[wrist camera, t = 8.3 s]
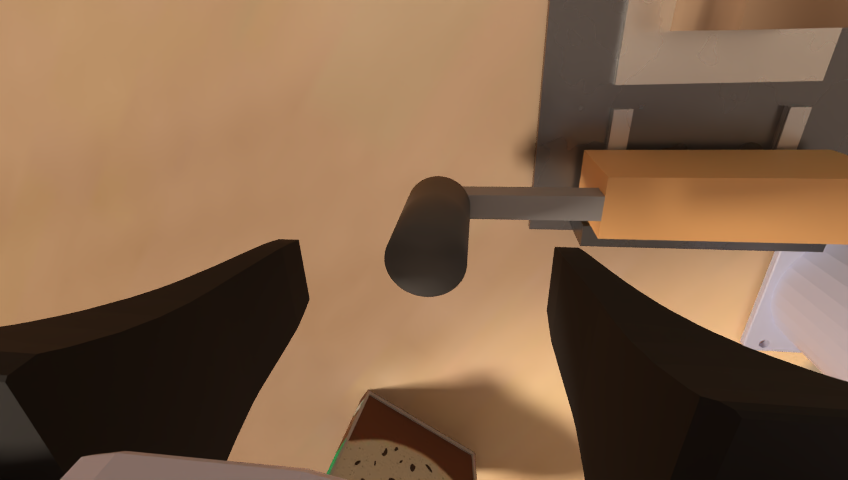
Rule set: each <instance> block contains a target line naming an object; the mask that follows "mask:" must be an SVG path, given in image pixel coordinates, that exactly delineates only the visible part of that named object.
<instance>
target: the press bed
mask: <svg viewBox="0 0 848 480" xmlns="http://www.w3.org/2000/svg"><path fill="white" fill-rule="evenodd" d="M676 1H677V0H548V12H547V23H546V35H545V46H544V57H543V69H542V80H541V92H540V103H539V114H538V126H537V137H536V149H535V160H534V171H533V183H532V187H565V188H579V183H580V176H581V169H582V162H583V155H584V150H834V151H837V152H840V153H843V154H846V155H848V28H806V29H763V30H709V31H670V28H671V24H672V19H673V14H674V10H675V5H676ZM529 229H556V230H573V232H574V234H575V236H576V238H577V240H578V242H579V244H580V246H602V247H640V248H679V249H717V250H756V251H794V252H823V251H824V249H825V246H826V244H801V243H759V242H717V241H674V240H632V239H598V238H597V236H596V234H595V233H594V231H593V229H592V227H591V226H590V224H589V222H588V221H565V220H529Z"/></svg>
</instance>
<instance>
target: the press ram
mask: <svg viewBox="0 0 848 480" xmlns="http://www.w3.org/2000/svg"><path fill="white" fill-rule="evenodd" d="M470 219H511V220H565V221H588V222H589V224H590V226H591V227H592V229H593V231H594V233H595V234H596V236H597V238H598V239H632V240H674V241H717V242H759V243H801V244H843V245H848V155H846V154H843V153H840V152H837V151H834V150H584V155H583V162H582V169H581V176H580V183H579V188H565V187H462V186H461V185H460V184H459V183H457V182H456V181H454V180H452V179H450V178H447V177H441V176H435V177H429V178H426V179H424V180H422V181H421V182H419V183H418V184H417V185H416V186H415V187H414V188H413V189H412V191H411V193H410V195H409V197H408V199H407V202H406V204H405V206H404V209H403V211H402V213H401V215H400V218H399V220H398V222H397V224H396V227H395V229H394V231H393V233H392V236H391V238H390V240H389V242H388V245H387V247H386V250H385V266H386V269H387V272H388V274H389V276H390V277H391V279H392V280H393V281H394V282H395V283H396V284H397V285H398V286H399V287H400V288H402V289H403V290H405V291H407V292H409V293H411V294H414V295H417V296H423V297H434V296H439V295H443V294H445V293H448V292H450V291H451V290H453V289H454V288H455V287H456V286H457V285H458V284H459V283H460V282H461V281H462V279H463V277H464V275H465V273H466V269H467V255H468V238H469V222H470Z"/></svg>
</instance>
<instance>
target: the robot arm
mask: <svg viewBox="0 0 848 480" xmlns="http://www.w3.org/2000/svg"><path fill="white" fill-rule="evenodd" d="M308 302H309V293H308V288H307V283H306V277H305V272H304V266H303V261H302V255H301V250H300V245H299V240H284V239H278V240H275V241H271V242H269V243H266V244H263V245H261V246H259V247H256V248H254V249H252V250H249V251H247V252H245V253H243V254H240V255H238V256H236V257H234V258H232V259H229V260H227V261H225V262H223V263H221V264H218V265H216V266H214V267H211V268H209V269H207V270H204V271H202V272H199V273H197V274H195V275H192V276H190V277H187V278H185V279H183V280H180V281H178V282H175V283H172V284H170V285H167V286H164V287H161V288H159V289H156V290H153V291H150V292H147V293H144V294H141V295H137V296H134V297H131V298H128V299H124V300H120V301H117V302H113V303H109V304H106V305H102V306H98V307H95V308H91V309H87V310H83V311H79V312H74V313H70V314H66V315H61V316H57V317H52V318H47V319H42V320H37V321H32V322H26V323H21V324H15V325H9V326H3V327H0V480H347V479H343V478H340V477H336V476H332V475H329V474H325V473H321V472H317V471H314V470H310V469H304V468H294V467H284V466H274V465H264V464H254V463H243V462H233V461H227V459H228V457H229V454H230V452H231V450H232V447H233V445H234V443H235V440H236V438H237V436H238V434H239V432H240V429H241V427H242V425H243V423H244V421H245V419H246V417H247V415H248V412H249V410H250V408H251V406H252V404H253V402H254V400H255V398H256V397H257V395H258V393H259V391H260V389H261V388H262V386H263V384H264V383H265V381H266V380H267V378H268V376H269V375H270V373H271V371H272V370H273V368H274V366H275V365H276V363H277V362H278V360H279V358H280V357H281V355H282V353H283V352H284V350H285V348H286V347H287V345H288V343H289V342H290V340H291V338H292V337H293V335H294V333H295V331H296V330H297V328H298V326H299V324H300V321H301V319H302V317H303V315H304V312H305V309H306V307H307V304H308ZM547 314H548V322H549V329H550V336H551V342H552V345H553V349H554V352H555V356H556V359H557V363H558V366H559V370H560V373H561V377H562V380H563V383H564V387H565V390H566V394H567V397H568V400H569V404H570V407H571V411H572V414H573V418H574V423H575V427H576V431H577V437H578V442H579V448H580V453H581V459H582V465H583V470H584V477H585V480H848V245H843V244H826V246H825V249H824V251H823V252H794V251H775V252H774V255H773V257H772V260H771V262H770V265H769V267H768V270H767V273H766V275H765V278H764V280H763V283H762V285H761V288H760V291H759V293H758V296H757V298H756V301H755V303H754V306H753V309H752V311H751V314H750V316H749V319H748V321H747V324H746V327H745V329H744V332H743V334H742V337H741V341H740V342H741V343H742V345H741V344H739V343H737V342H735V341H732V340H730V339H728V338H725V337H723V336H721V335H718V334H716V333H714V332H712V331H710V330H708V329H705V328H703V327H701V326H699V325H697V324H695V323H693V322H691V321H690V320H688V319H686V318H684V317H682V316H680V315H678V314H676V313H674V312H673V311H671V310H669V309H667V308H665V307H664V306H662V305H660V304H659V303H657V302H655V301H654V300H652V299H651V298H649V297H648V296H646V295H644V294H643V293H641V292H640V291H638V290H637V289H635V288H634V287H632V286H631V285H629V284H628V283H626V282H625V281H624V280H622V279H621V278H619V277H618V276H617V275H615V274H614V273H613V272H611V271H610V270H608V269H607V268H606V267H604V266H603V265H602V264H601V263H599V262H598V261H597V260H595V259H594V258H593V257H591V256H590V255H589V254H587V253H586V252H584V251H583V250H581V249H580V248H569V247H555V249H554V257H553V265H552V273H551V281H550V289H549V297H548V305H547ZM763 340H764V341H763ZM761 341H763V342H761ZM760 342H761V343H760ZM756 350H763V351H782V352H800V353H803V354H804V355H805V356H806V357H807V358H808V359H809V360H810V361H811V362H812V363H813V364H814V365H815V366H816V367H817V368H818V369H819V370H820V371H821V372H822V373H823V374H820V373H817V372H814V371H811V370H808V369H805V368H803V367H800V366H797V365H794V364H791V363H789V362H786V361H783V360H780V359H777V358H774V357H772V356H769V355H766V354H764V353H761V352H759V351H756Z"/></svg>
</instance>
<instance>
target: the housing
mask: <svg viewBox="0 0 848 480" xmlns="http://www.w3.org/2000/svg"><path fill="white" fill-rule="evenodd" d="M806 28H848V0H677V1H676V5H675V10H674V14H673V19H672V24H671V28H670V31H709V30H763V29H806Z"/></svg>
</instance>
